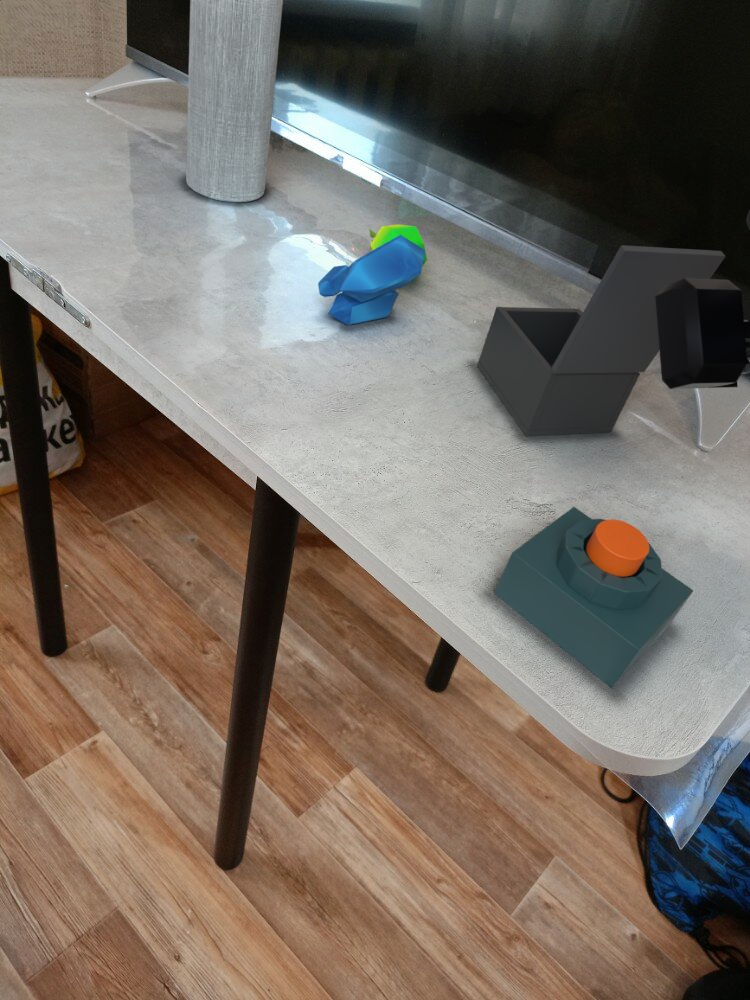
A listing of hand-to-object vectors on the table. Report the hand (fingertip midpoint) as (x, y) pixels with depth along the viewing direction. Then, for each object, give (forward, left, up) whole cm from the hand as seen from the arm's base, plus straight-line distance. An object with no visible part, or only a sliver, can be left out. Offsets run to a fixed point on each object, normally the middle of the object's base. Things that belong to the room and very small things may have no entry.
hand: (690, 362), depth 55 cm
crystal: (+27, -19, -14) cm, 35 cm away
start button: (+3, +14, -8) cm, 17 cm away
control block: (+3, +14, -14) cm, 20 cm away
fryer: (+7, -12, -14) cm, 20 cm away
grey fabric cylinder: (+51, -42, -14) cm, 67 cm away
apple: (+27, -31, -14) cm, 43 cm away
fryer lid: (+4, -7, 0) cm, 8 cm away
